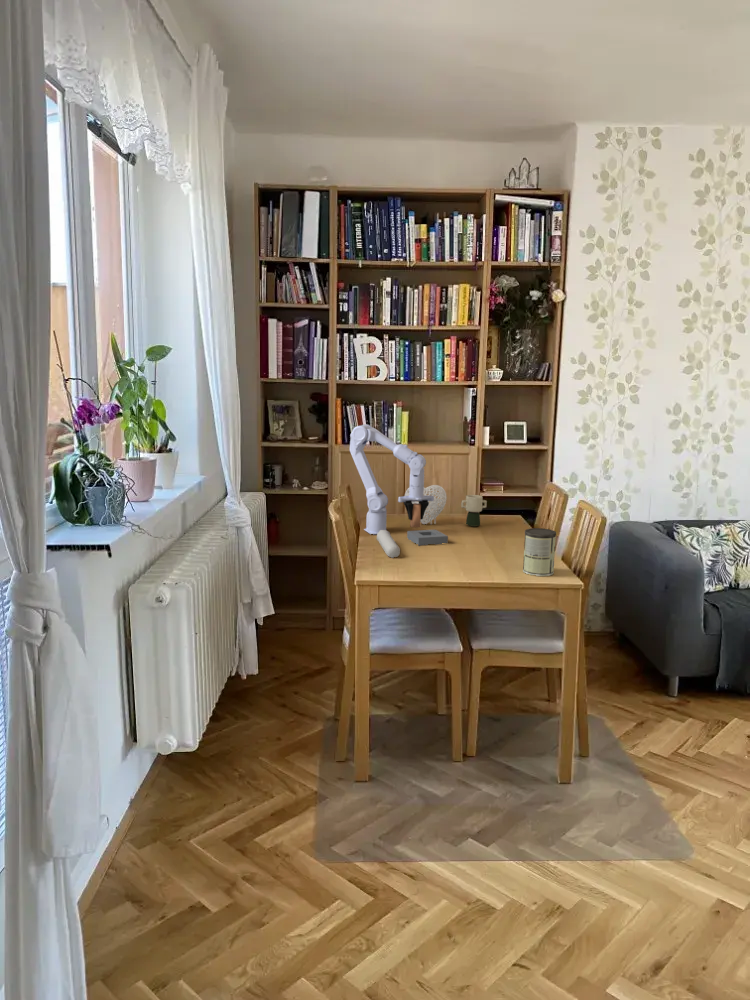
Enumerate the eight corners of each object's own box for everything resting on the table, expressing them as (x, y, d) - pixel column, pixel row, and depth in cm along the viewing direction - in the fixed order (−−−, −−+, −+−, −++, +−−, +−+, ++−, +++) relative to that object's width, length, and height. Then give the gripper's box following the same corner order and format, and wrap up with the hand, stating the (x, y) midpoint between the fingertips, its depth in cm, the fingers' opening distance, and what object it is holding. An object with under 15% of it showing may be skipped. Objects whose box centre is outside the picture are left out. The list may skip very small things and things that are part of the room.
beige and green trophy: (483, 524, 332) (484, 494, 330) (487, 527, 325) (488, 497, 323) (458, 524, 331) (459, 494, 329) (462, 527, 324) (463, 497, 322)
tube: (403, 548, 271) (392, 532, 296) (389, 543, 270) (379, 527, 295) (398, 562, 272) (387, 544, 296) (384, 557, 271) (374, 540, 295)
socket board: (407, 538, 303) (407, 531, 302) (435, 536, 306) (435, 529, 306) (418, 545, 291) (418, 537, 291) (447, 543, 295) (447, 536, 295)
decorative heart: (443, 521, 335) (444, 483, 332) (447, 527, 325) (449, 487, 322) (402, 521, 334) (403, 482, 331) (405, 527, 324) (406, 486, 320)
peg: (408, 525, 309) (409, 503, 307) (418, 525, 310) (418, 503, 308) (412, 527, 305) (413, 505, 303) (421, 527, 306) (422, 505, 304)
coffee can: (518, 568, 262) (520, 528, 260) (547, 568, 263) (550, 527, 261) (528, 576, 252) (530, 534, 250) (558, 576, 253) (561, 534, 251)
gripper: (403, 487, 298) (402, 522, 301) (437, 486, 303) (436, 520, 305) (396, 484, 305) (395, 518, 307) (430, 483, 310) (429, 516, 312)
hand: (415, 519), depth 307 cm, fingers closed on peg, 4 cm apart
